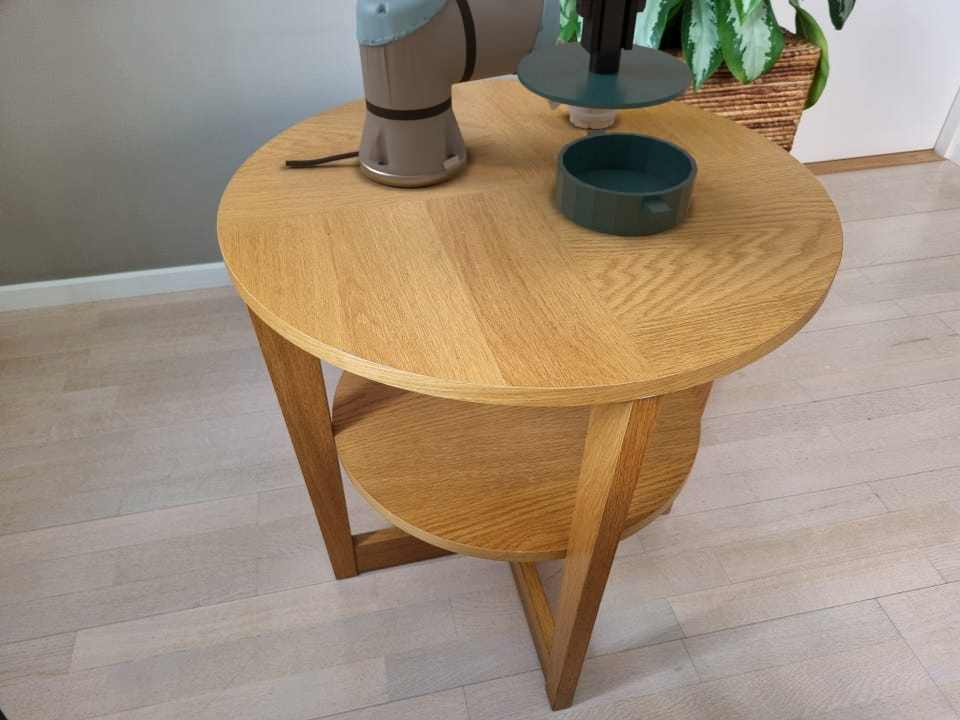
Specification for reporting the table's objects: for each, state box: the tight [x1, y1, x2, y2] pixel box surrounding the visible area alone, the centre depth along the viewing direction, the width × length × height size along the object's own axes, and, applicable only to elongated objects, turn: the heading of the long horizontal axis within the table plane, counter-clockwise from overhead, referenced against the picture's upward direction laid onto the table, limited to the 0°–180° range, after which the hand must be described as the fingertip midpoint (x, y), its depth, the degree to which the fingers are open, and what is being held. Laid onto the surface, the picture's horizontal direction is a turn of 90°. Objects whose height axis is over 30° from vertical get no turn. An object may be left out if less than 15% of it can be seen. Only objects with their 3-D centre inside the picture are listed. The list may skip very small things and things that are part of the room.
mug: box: [544, 36, 619, 130], centre depth 107 cm, size 8×12×12 cm, turn 77°
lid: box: [516, 0, 693, 110], centre depth 71 cm, size 18×18×11 cm
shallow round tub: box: [554, 128, 699, 237], centre depth 90 cm, size 17×23×6 cm
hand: (606, 47), depth 73 cm, fingers closed on lid, 3 cm apart
